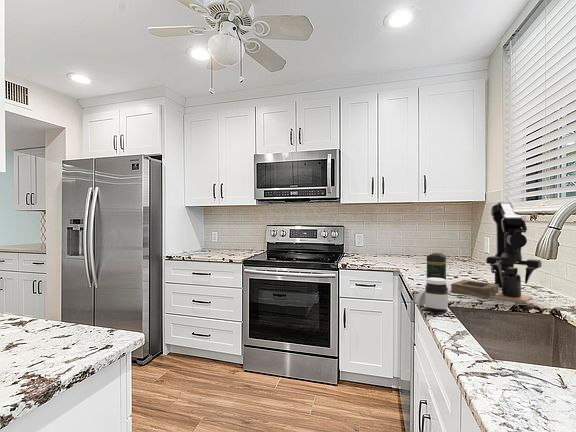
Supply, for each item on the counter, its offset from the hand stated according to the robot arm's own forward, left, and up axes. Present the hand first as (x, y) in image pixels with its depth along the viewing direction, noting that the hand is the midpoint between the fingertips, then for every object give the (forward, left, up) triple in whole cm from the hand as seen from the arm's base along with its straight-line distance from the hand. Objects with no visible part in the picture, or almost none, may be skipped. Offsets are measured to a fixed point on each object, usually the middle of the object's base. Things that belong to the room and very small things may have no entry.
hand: (513, 281), depth 137 cm
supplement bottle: (0, -1, -6) cm, 6 cm away
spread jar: (+41, -16, -7) cm, 45 cm away
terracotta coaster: (0, 0, -7) cm, 7 cm away
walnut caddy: (0, -15, -7) cm, 16 cm away
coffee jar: (+17, -25, -7) cm, 31 cm away
